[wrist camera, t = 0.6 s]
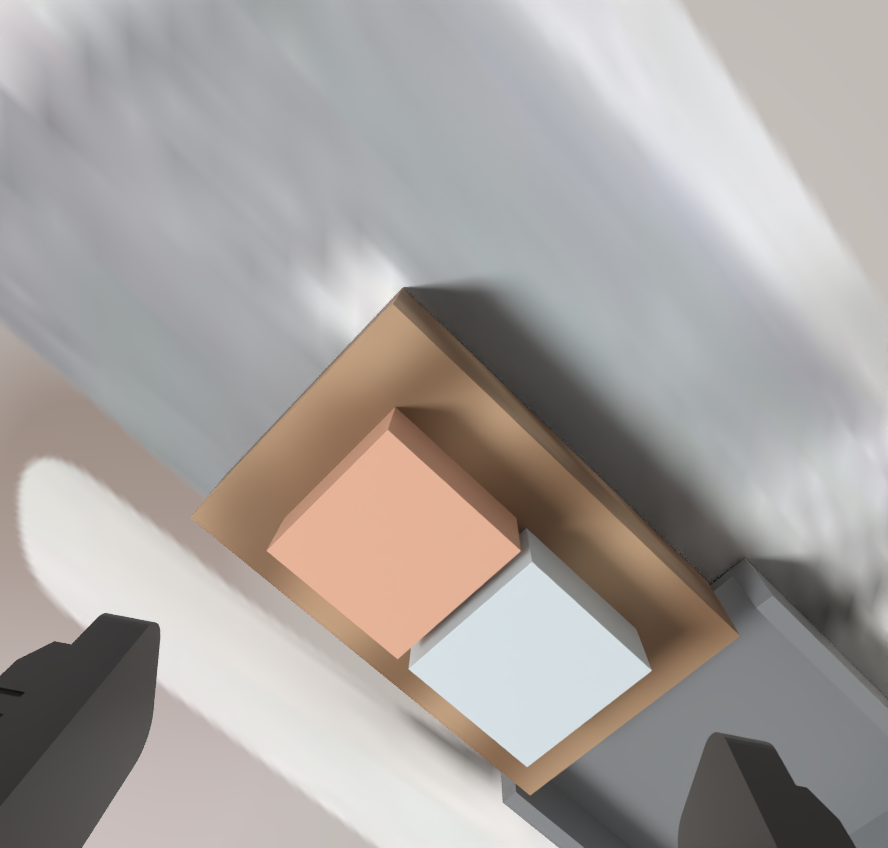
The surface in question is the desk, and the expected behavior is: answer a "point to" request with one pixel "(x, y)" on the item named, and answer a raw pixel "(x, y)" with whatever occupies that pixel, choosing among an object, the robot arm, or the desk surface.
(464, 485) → the tile
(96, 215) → the desk surface
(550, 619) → the tile
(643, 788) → the box
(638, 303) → the desk surface
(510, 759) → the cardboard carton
